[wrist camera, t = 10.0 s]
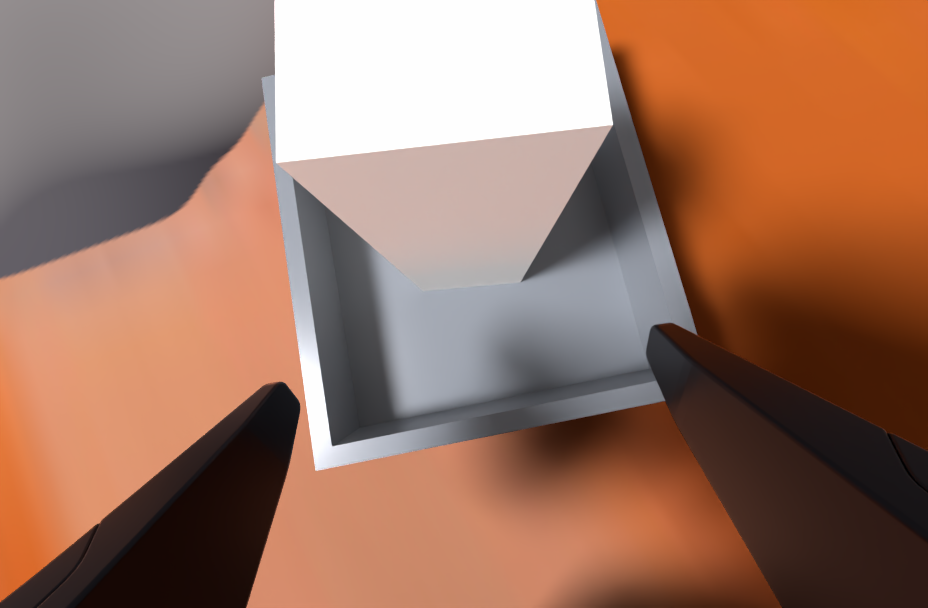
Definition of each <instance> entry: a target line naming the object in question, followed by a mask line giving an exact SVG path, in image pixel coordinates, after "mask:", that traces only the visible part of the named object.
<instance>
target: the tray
mask: <svg viewBox="0 0 928 608" xmlns="http://www.w3.org/2000/svg"><path fill="white" fill-rule="evenodd" d="M594 2H595V9H596V15H597V22H598V29H599V35H600V42H601V49H602V55H603V62H604V68H605V75H606V82H607V88H608V95H609V102H610V108H611V115H612V121H613V126H612V127H611V129H610V131H609V132H608V134H607V136H606V138H605V139H604V141H603V143H602V144H601V146H600V148H599V149H598V151H597V153H596V155H595V156H594V158H593V160H592V161H591V163H590V165H589V166H588V168H587V170H586V172H585V173H584V175H583V177H582V178H581V180H580V182H579V183H578V185H577V187H576V189H575V190H574V192H573V194H572V195H571V197H570V199H569V200H568V202H567V204H566V205H565V207H564V209H563V211H562V212H561V214H560V216H559V217H558V219H557V221H556V222H555V224H554V226H553V228H552V229H551V231H550V233H549V234H548V236H547V238H546V239H545V241H544V243H543V245H542V246H541V248H540V250H539V251H538V253H537V255H536V256H535V258H534V260H533V262H532V263H531V265H530V267H529V268H528V270H527V272H526V273H525V275H524V277H523V279H522V280H521V282H518V283H507V284H496V285H485V286H474V287H463V288H452V289H441V290H430V291H422V290H421V289H420V288H419V287H418V286H417V285H415V284H414V283H413V282H412V281H411V280H410V279H409V278H407V277H406V276H405V275H404V274H403V273H402V272H401V271H399V270H398V269H397V268H396V267H395V266H394V265H393V264H391V263H390V262H389V261H388V260H387V259H386V258H385V257H383V256H382V255H381V254H380V253H379V252H378V251H376V250H375V249H374V248H373V247H372V246H371V245H370V244H368V243H367V242H366V241H365V240H364V239H363V238H362V237H360V236H359V235H358V234H357V233H356V232H355V231H354V230H352V229H351V228H350V227H349V226H348V225H347V224H346V223H344V222H343V221H342V220H341V219H340V218H339V217H337V216H336V215H335V214H334V213H333V212H332V211H331V210H329V209H328V208H327V207H326V206H325V205H324V204H323V203H321V202H320V201H319V200H318V199H317V198H316V197H315V196H313V195H312V194H311V193H310V192H309V191H308V190H306V189H305V188H304V187H303V186H302V185H301V184H300V183H298V182H297V181H296V180H295V179H294V178H293V177H292V176H290V175H289V174H288V173H287V172H286V171H285V170H284V169H282V168H281V167H280V166H279V165H278V164H277V163H276V107H275V75H271V76H267V77H263V78H262V86H263V94H264V101H265V108H266V115H267V122H268V130H269V137H270V144H271V151H272V159H273V166H274V173H275V180H276V187H277V195H278V202H279V209H280V216H281V224H282V231H283V238H284V245H285V253H286V260H287V267H288V274H289V281H290V289H291V296H292V303H293V310H294V318H295V325H296V332H297V339H298V347H299V354H300V361H301V368H302V375H303V383H304V390H305V397H306V404H307V412H308V419H309V426H310V433H311V441H312V448H313V455H314V462H315V469H316V471H317V470H322V469H327V468H332V467H337V466H342V465H347V464H352V463H357V462H362V461H367V460H372V459H377V458H382V457H387V456H392V455H397V454H402V453H407V452H412V451H417V450H422V449H427V448H432V447H437V446H442V445H447V444H452V443H457V442H462V441H467V440H472V439H477V438H482V437H487V436H492V435H497V434H502V433H507V432H512V431H517V430H522V429H527V428H532V427H537V426H542V425H547V424H552V423H557V422H562V421H567V420H572V419H577V418H582V417H587V416H592V415H597V414H602V413H607V412H612V411H617V410H622V409H627V408H632V407H637V406H642V405H647V404H652V403H657V402H662V401H665V399H664V397H663V394H662V392H661V390H660V388H659V385H658V383H657V381H656V378H655V376H654V374H653V372H652V369H651V367H650V365H649V362H648V360H647V356H646V348H647V342H648V337H649V332H650V328H651V327H652V326H653V325H656V324H663V323H674V324H676V325H678V326H680V327H682V328H684V329H686V330H688V331H690V332H692V333H694V334H696V335H697V331H696V328H695V325H694V322H693V318H692V315H691V312H690V308H689V305H688V302H687V299H686V295H685V292H684V289H683V285H682V282H681V279H680V276H679V272H678V269H677V266H676V262H675V259H674V256H673V252H672V249H671V246H670V243H669V239H668V236H667V233H666V229H665V226H664V223H663V220H662V216H661V213H660V210H659V206H658V203H657V200H656V196H655V193H654V190H653V187H652V183H651V180H650V177H649V173H648V170H647V167H646V164H645V160H644V157H643V154H642V150H641V147H640V144H639V140H638V137H637V134H636V131H635V127H634V124H633V121H632V117H631V114H630V111H629V108H628V104H627V101H626V98H625V94H624V91H623V88H622V85H621V81H620V78H619V75H618V71H617V68H616V65H615V61H614V58H613V55H612V52H611V48H610V45H609V42H608V38H607V35H606V32H605V29H604V25H603V22H602V19H601V15H600V12H599V9H598V5H597V2H596V0H594Z"/></svg>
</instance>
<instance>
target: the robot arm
mask: <svg viewBox="0 0 928 608" xmlns="http://www.w3.org/2000/svg"><path fill="white" fill-rule="evenodd" d="M646 356H647V360H648V362H649V365H650V367H651V369H652V372H653V374H654V376H655V378H656V381H657V383H658V385H659V388H660V390H661V392H662V394H663V397H664V399H665V401H666V404H667V406H668V408H669V410H670V413H671V415H672V417H673V419H674V421H675V423H676V425H677V426H678V428H679V430H680V432H681V434H682V435H683V437H684V439H685V440H686V442H687V444H688V446H689V447H690V449H691V451H692V453H693V454H694V456H695V458H696V459H697V461H698V463H699V465H700V466H701V468H702V470H703V472H704V473H705V475H706V477H707V479H708V480H709V482H710V484H711V485H712V487H713V489H714V491H715V492H716V494H717V496H718V498H719V499H720V501H721V503H722V504H723V506H724V508H725V510H726V511H727V513H728V515H729V517H730V518H731V520H732V522H733V523H734V525H735V527H736V529H737V530H738V532H739V534H740V536H741V537H742V539H743V541H744V542H745V544H746V546H747V548H748V549H749V551H750V553H751V555H752V556H753V558H754V560H755V561H756V563H757V565H758V567H759V568H760V570H761V572H762V574H763V575H764V577H765V579H766V581H767V582H768V584H769V586H770V587H771V589H772V591H773V593H774V594H775V596H776V598H777V600H778V601H779V603H780V605H781V606H782V608H928V450H926V449H924V448H922V447H920V446H918V445H916V444H914V443H912V442H910V441H908V440H906V439H904V438H902V437H900V436H898V435H896V434H894V433H890V432H888V433H887V432H886V431H885V429H883V428H881V427H879V426H877V425H875V424H873V423H871V422H869V421H867V420H865V419H863V418H861V417H859V416H857V415H855V414H854V413H852V412H850V411H848V410H846V409H844V408H842V407H840V406H838V405H836V404H834V403H832V402H830V401H828V400H826V399H824V398H822V397H820V396H818V395H816V394H814V393H812V392H810V391H808V390H806V389H804V388H802V387H800V386H798V385H796V384H794V383H792V382H790V381H788V380H786V379H784V378H782V377H780V376H778V375H776V374H774V373H772V372H770V371H768V370H766V369H764V368H762V367H760V366H758V365H756V364H754V363H752V362H750V361H748V360H746V359H744V358H742V357H740V356H738V355H736V354H734V353H732V352H730V351H728V350H726V349H724V348H722V347H720V346H718V345H716V344H714V343H712V342H710V341H708V340H706V339H704V338H702V337H700V336H698V335H696V334H694V333H692V332H690V331H688V330H686V329H684V328H682V327H680V326H678V325H676V324H674V323H663V324H656V325H653V326H652V327H651V328H650V332H649V337H648V342H647V348H646ZM299 414H300V403H299V401H298V399H297V398H296V396H295V395H294V394H293V393H292V391H291V390H290V389H289V387H288V386H287V385H286V384H285V383H283V382H275V383H268V384H266V385H264V386H262V387H261V388H260V389H259V390H258V391H256V392H255V393H254V394H253V395H252V396H250V397H249V398H248V399H247V400H246V401H244V402H243V403H242V404H241V405H240V406H238V407H237V408H236V409H235V410H234V411H232V412H231V413H230V414H229V415H228V416H226V417H225V418H224V419H223V420H222V421H220V422H219V423H218V424H217V425H216V426H214V427H213V428H212V429H211V430H210V431H208V432H207V433H206V434H205V435H203V436H202V437H201V438H200V439H199V440H197V441H196V442H195V443H194V444H193V445H191V446H190V447H189V448H188V449H187V450H185V451H184V452H183V453H182V454H181V455H179V456H178V457H177V458H176V459H175V460H173V461H172V462H171V463H170V464H169V465H167V466H166V467H165V468H164V469H163V470H161V471H160V472H159V473H158V474H157V475H155V476H154V477H153V478H152V479H151V480H149V481H148V482H147V483H146V484H145V485H143V486H142V487H141V488H140V489H139V490H137V491H136V492H135V493H134V494H133V495H131V496H130V497H129V498H128V499H127V500H125V501H124V502H123V503H122V504H121V505H119V506H118V507H117V508H116V509H114V510H113V511H112V512H111V513H110V514H108V515H107V516H106V517H105V518H104V519H102V521H101V522H100V523H99V524H96V525H95V526H94V527H93V528H91V529H90V530H89V531H88V532H87V533H85V534H84V535H83V536H82V537H81V538H80V539H78V540H77V541H76V542H75V543H74V544H72V545H71V546H70V547H69V548H67V549H66V550H65V551H64V552H62V553H61V554H60V555H59V556H58V557H56V558H55V559H54V560H53V561H51V562H50V563H49V564H48V565H47V566H45V567H44V568H43V569H42V570H40V571H39V572H38V573H37V574H35V575H34V576H33V577H32V578H30V579H29V580H28V581H26V582H25V583H24V584H23V585H21V586H20V587H19V588H18V589H16V590H15V591H14V592H12V593H11V594H10V595H9V596H7V597H6V598H5V599H4V600H2V601H1V602H0V608H246V607H247V604H248V601H249V597H250V594H251V591H252V587H253V584H254V581H255V578H256V574H257V571H258V568H259V564H260V561H261V558H262V555H263V551H264V548H265V545H266V541H267V538H268V535H269V532H270V528H271V525H272V522H273V518H274V515H275V512H276V508H277V505H278V502H279V499H280V495H281V492H282V489H283V485H284V482H285V479H286V475H287V472H288V468H289V463H290V459H291V454H292V449H293V444H294V439H295V434H296V429H297V424H298V419H299Z"/></svg>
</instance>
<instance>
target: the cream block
mask: <svg viewBox="0 0 928 608" xmlns="http://www.w3.org/2000/svg"><path fill="white" fill-rule="evenodd" d="M275 107H276V163H277V164H278V165H279V166H280V167H281V168H282V169H284V170H285V171H286V172H287V173H288V174H289V175H290V176H292V177H293V178H294V179H295V180H296V181H297V182H298V183H300V184H301V185H302V186H303V187H304V188H305V189H306V190H308V191H309V192H310V193H311V194H312V195H313V196H315V197H316V198H317V199H318V200H319V201H320V202H321V203H323V204H324V205H325V206H326V207H327V208H328V209H329V210H331V211H332V212H333V213H334V214H335V215H336V216H337V217H339V218H340V219H341V220H342V221H343V222H344V223H346V224H347V225H348V226H349V227H350V228H351V229H352V230H354V231H355V232H356V233H357V234H358V235H359V236H360V237H362V238H363V239H364V240H365V241H366V242H367V243H368V244H370V245H371V246H372V247H373V248H374V249H375V250H376V251H378V252H379V253H380V254H381V255H382V256H383V257H385V258H386V259H387V260H388V261H389V262H390V263H391V264H393V265H394V266H395V267H396V268H397V269H398V270H399V271H401V272H402V273H403V274H404V275H405V276H406V277H407V278H409V279H410V280H411V281H412V282H413V283H414V284H415V285H417V286H418V287H419V288H420V289H421V290H422V291H430V290H441V289H452V288H463V287H474V286H485V285H496V284H507V283H518V282H521V280H522V279H523V277H524V275H525V273H526V272H527V270H528V268H529V267H530V265H531V263H532V262H533V260H534V258H535V256H536V255H537V253H538V251H539V250H540V248H541V246H542V245H543V243H544V241H545V239H546V238H547V236H548V234H549V233H550V231H551V229H552V228H553V226H554V224H555V222H556V221H557V219H558V217H559V216H560V214H561V212H562V211H563V209H564V207H565V205H566V204H567V202H568V200H569V199H570V197H571V195H572V194H573V192H574V190H575V189H576V187H577V185H578V183H579V182H580V180H581V178H582V177H583V175H584V173H585V172H586V170H587V168H588V166H589V165H590V163H591V161H592V160H593V158H594V156H595V155H596V153H597V151H598V149H599V148H600V146H601V144H602V143H603V141H604V139H605V138H606V136H607V134H608V132H609V131H610V129H611V127H612V126H613V121H612V115H611V108H610V102H609V95H608V88H607V82H606V75H605V68H604V62H603V55H602V49H601V42H600V35H599V29H598V22H597V15H596V9H595V2H594V0H275Z"/></svg>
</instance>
